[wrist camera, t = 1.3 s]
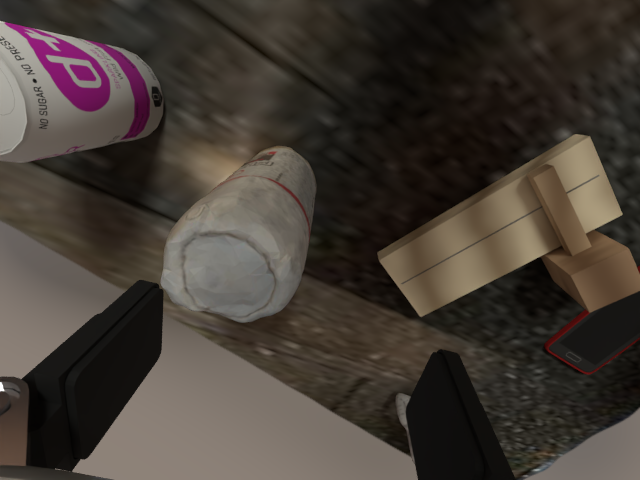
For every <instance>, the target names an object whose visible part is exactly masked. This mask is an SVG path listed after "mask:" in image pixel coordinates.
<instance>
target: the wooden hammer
mask: <svg viewBox="0 0 640 480" xmlns="http://www.w3.org/2000/svg"><path fill="white" fill-rule="evenodd" d="M527 177H528V179H529V181H530V183H531V185H532V187H533V189H534V191H535V193H536V195H537V196H538V198H539V200H540V202H541V204H542V206H543V208H544V210H545V212H546V214H547V216H548V218H549V220H550V222H551V224H552V226H553V228H554V230H555V232H556V234H557V236H558V238H559V240H560V242H561V244H562V246H560V247H558V248H556V249H554V250H552V251H550V252H548V253H546V254H544V255H542V256H540V257H541V258H542V260H543V262H544V264H545V266H546V268H547V270H548V271H549V273H550V275H551V277H552V279H553V281H554V282H555V283H556V284H558V285H559V286H560V287H561V288H562V289H563V290H564V291H566V292H567V293H568V294H569V295H570V296H571V297H572V298H574V299H575V300H576V301H577V302H578V303H579V304H580V305H581V306H583V307H584V308H585V309H586V310H587V311H588V312H589V313H590V312H593V311H595V310H597V309H599V308H602V307H604V306H606V305H609V304H611V303H613V302H615V301H618V300H620V299H622V298H625V297H627V296H629V295H631V294H634V293H636V292H638V291H640V274H639V271H638V269H637V267H636V264H635V262H634V260H633V257H632V255H631V253H630V250H629V248H627V247H625V246H624V245H622V244H620V243H618V242H616V241H614V240H612V239H610V238H609V237H607V236H605V235H603V234H601V233H599V232H597V231H595V230H592V231H590V232H588V233H585V231H584V229H583V227H582V225H581V223H580V221H579V219H578V216H577V214H576V212H575V210H574V208H573V206H572V204H571V202H570V199H569V197H568V195H567V193H566V191H565V189H564V187H563V185H562V183H561V180H560V178H559V176H558V174H557V172H556V170H555V168H554V166H552V165H549V164H544V165H543V166H541V167H539V168H538V169H536V170H534V171H532V172H531V173H529V174H527Z"/></svg>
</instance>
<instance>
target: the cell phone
mask: <svg viewBox="0 0 640 480" xmlns="http://www.w3.org/2000/svg"><path fill="white" fill-rule="evenodd" d="M637 269H638V271H639V274H640V266H639V267H637ZM639 339H640V291H638V292H636V293H634V294H631V295H629V296H627V297H625V298H622V299H620V300H618V301H615V302H613V303H611V304H609V305H606V306H604V307H602V308H599V309H597V310H595V311H593V312H590V313H589V312H588V311H587V310H584V311H583V312H582V313H581V314H580V315H578V316H577V317H576V318H575V319H573V320H572V321H571V322H570V323H569V324H567V325H566V326H565V327H564V328H563V329H561V330H560V331H559V332H558V333H556V334H555V335H554V336H553V337H552V338H550V339H549V340H548V341H547V342H546V343H545V345H544V347H545V349H546V350H547V351H548V352H549V353H551V354H552V355H554V356H555V357H557V358H559V359H560V360H562V361H564V362H565V363H567V364H569V365H570V366H572V367H573V368H575V369H577V370H578V371H580V372H582V373H584V374H592V373H593V372H595V371H597V370H598V369H599V368H601V367H602V366H604V365H605V364H606V363H608V362H609V361H610V360H612V359H613V358H615V357H616V356H617V355H619V354H620V353H622V352H623V351H624V350H626V349H627V348H628V347H630V346H631V345H633V344H634V343H635V342H637V341H638V340H639Z"/></svg>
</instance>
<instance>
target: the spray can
mask: <svg viewBox="0 0 640 480" xmlns="http://www.w3.org/2000/svg"><path fill="white" fill-rule="evenodd" d="M316 187H317V185H316V179H315V175H314V172H313V171H312V169H311V167H310V165H309V163H308V161H307V160H305V159H304V158H303V157H301V155H300V154H298V153H297V152H295V151H294V150H293V149H292V148H289V147H284V146H275V147H271V148H268V149H265V150H262V151H261V152H260V153H259V154H257V155H256V156H255V157H254V158H252V159H251V160H250V161H248V162H247V163H245V164H244V165H243V166H242V167H241V168H240V169H238V170H237V171H235V172H234V173H233V174H232V175H231V176H229V177H228V178H227V179H226V180H225V181H223V182H222V183H220V184H219V185H218V186H217V187H215V188H214V189H213V190H212V191H211V192H210V193H209V194H208V195H207V196H206V197H204V198H202V199H201V200H199V201H198V202H196V203H195V204H194V205H193V206H192V207H191V208H190V209H189V210H188V211H187V212H186V213H185V214H184V215H183V216H182V217H181V218H180V220H179V221H178V222H177V223H176V224H175V226H174V227H173V228H172V229H171V231H170V233H169V235H168V237H167V241H166V245H165V249H164V268H163V273H162V277H161V286H162V287H163V288H164V289H165V290H166V291H167V293H168V295H169V297H170V298H171V300H172V301H173V302H174V303H175V304H178V305H180V306H183V307H185V308H187V309H189V310H191V311H207V312H211V313H215V314H219V315H222V316H224V317H227V318H230V319H232V320H235V321H237V322H241V323H245V322H252V321H254V320H257V319H259V318H261V317H266V316H271V315H273V314H275V313H277V312H279V311H281V310H282V309H283V308H284V307H285V306H286V305H287V304H288V303H289V301H290V300H291V298H292V297H293V296H294V294H295V292H296V290H297V288H298V286H299V284H300V282H301V277H302V273H303V270H304V266H305V261H306V257H307V251H308V245H309V240H310V232H311V226H312V221H313V218H312V217H313V213H314V203H315V195H316Z"/></svg>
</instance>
